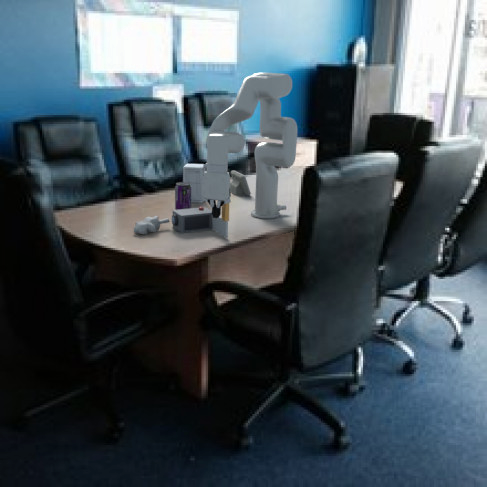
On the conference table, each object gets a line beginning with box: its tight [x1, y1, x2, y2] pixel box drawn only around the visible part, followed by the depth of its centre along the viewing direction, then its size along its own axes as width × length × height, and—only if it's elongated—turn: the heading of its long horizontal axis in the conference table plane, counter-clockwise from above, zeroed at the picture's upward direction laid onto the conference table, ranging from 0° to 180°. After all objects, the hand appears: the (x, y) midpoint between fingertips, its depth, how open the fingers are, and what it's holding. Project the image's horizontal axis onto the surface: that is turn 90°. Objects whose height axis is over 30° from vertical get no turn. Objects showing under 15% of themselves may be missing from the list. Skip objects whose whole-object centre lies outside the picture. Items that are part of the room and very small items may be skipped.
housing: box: [171, 206, 214, 234], centre depth 227 cm, size 15×9×8 cm, turn 118°
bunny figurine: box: [133, 215, 170, 236], centre depth 224 cm, size 10×5×15 cm
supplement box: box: [182, 163, 207, 204], centre depth 271 cm, size 10×9×17 cm
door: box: [212, 203, 230, 239], centre depth 220 cm, size 13×2×14 cm, turn 28°
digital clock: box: [230, 169, 252, 197], centre depth 289 cm, size 16×9×11 cm, turn 11°
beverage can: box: [174, 181, 192, 210], centre depth 253 cm, size 7×7×12 cm
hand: (216, 217), depth 214 cm, fingers closed
